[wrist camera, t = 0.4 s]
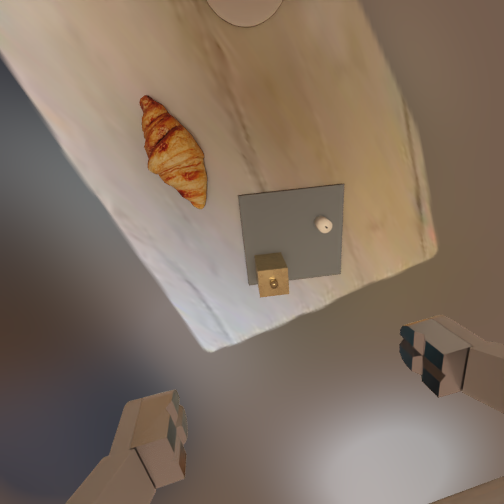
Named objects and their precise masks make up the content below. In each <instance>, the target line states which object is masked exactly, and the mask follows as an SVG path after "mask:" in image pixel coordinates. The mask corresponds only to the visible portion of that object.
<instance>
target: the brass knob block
mask: <svg viewBox="0 0 504 504" xmlns="http://www.w3.org/2000/svg"><path fill="white" fill-rule="evenodd" d="M254 256H255V266H256V276H257V282H258V288H259V293H260V297H267V296H275V295H283V294H289V281H288V267H287V265H286V263H285V260H284V258H283V256H282V254H281V252H278V253H270V254H261V255H254Z"/></svg>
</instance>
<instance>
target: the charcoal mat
mask: <svg viewBox="0 0 504 504" xmlns="http://www.w3.org/2000/svg"><path fill="white" fill-rule="evenodd" d="M238 197H239V205H240V214H241V222H242V231H243V239H244V247H245V256H246V264H247V273H248V281H249V285H255V284H258V282H257V276H256V266H255V256H254V255H261V254H270V253H278V252H281V254H282V256H283V258H284V260H285V263H286V265H287V267H288V280H296V279H304V278H313V277H321V276H329V275H337V274H341V252H342V228H343V204H344V184H337V185H328V186H319V187H310V188H301V189H292V190H283V191H275V192H266V193H257V194H248V195H239V196H238ZM318 216H324V217H325V218H327V219H328V220H329V221H330V222H331V223H332V229H331V231H329V232H328V233H322V232H320V231H319V230H318V229H317V228H316V227H315V225H314V220H315V218H316V217H318Z"/></svg>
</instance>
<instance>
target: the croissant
mask: <svg viewBox="0 0 504 504" xmlns="http://www.w3.org/2000/svg"><path fill="white" fill-rule="evenodd" d="M140 106H141V108H142V110H143V113H144V114H143V117H142V131H143V132H144V138H145V139H146V141H145V146H144V148H145V150H146V153H147V155H148V158H149V160H148V169H149V170H150V171H151V172H153V173H155V174H159V176H160V177H161V179H162V180H163V181H164V182H165V183H166V184H168V185H171V186H172V187H174V188H175V189H176V190H177V191H178V192H179V193H180V195H181V196H182V197H184V198H185V199H187V200H189V201H191V203H192V205H193V206H194V207H196V208H198V209H202V208H204V206H205V202H206V190H207V186H206V185H207V184H206V183H207V174H206V171H205V167H204V163H203V158H204V154H203V152H202V151H201V149H200V147H199V146H198V144H197V143H196V141H195V140H194V138H193V137H192V135H191V134H190V133H189V132H188V131H187V130H186V129H185V128H184V127H183V126H182V125H181V124H180V123H179V122H178V121H177V120H176V119H175V118H174V117H173V116H171V115H170V114H169V113H168V112H167V111H166V109H165V107H164V106H163V105H161V104H160V103H158V102H156V101H154V100H153V99H152V98H150V97H149V96H148V95H145V96H143V97H142V98H141V99H140Z"/></svg>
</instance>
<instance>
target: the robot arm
mask: <svg viewBox="0 0 504 504" xmlns="http://www.w3.org/2000/svg"><path fill="white" fill-rule="evenodd" d="M206 1H207V2H208V4H209V5H210V7H211V8H212V9H213V10H214V11H215V13H216V14H217V15H219V16H220V17H221V18H222V19H224V20H225V21H227V22H229V23H231V24H233V25H236V26H242V27H250V26H255V25H258V24H260V23H262V22H264V21H266V20H267V19H268V18H270V17H271V16H272V15H273V14H274V13H275V12H276V10H277V9H278V8H279V6H280V4H281V3H282V1H283V0H206ZM400 335H401V336H402V337H403V340H402V341H401V343H400V344H399V352H400V355H401V358H402V360H403V361H404V363H405V364H406V366H407V367H408V368H409V369H410V370H411V371H413V372H415V373H417V374H420V375H421V379H422V382H423V383H424V384H425V385H426V386H427V387H428V388H429V389H430V390H431V391H432V392H433V393H434V394H435V395H436V396H437V397H438V398H439V397H442V396H446V395H450V394H453V393H457V392H460V391H462V393H464V394H466V395H468V396H470V397H472V398H474V399H476V400H478V401H480V402H482V403H484V404H486V405H488V406H490V407H492V408H494V409H496V410H498V411H500V412H501V413H503V414H504V344H500V343H497V342H493V341H492V342H487V341H485V340H483V339H482V338H480V337H479V336H477V335H476V334H474V333H472V332H470V331H469V330H467V329H466V328H464V327H463V326H461V325H459V324H458V323H456V322H455V321H453V320H452V319H450V318H449V317H447V316H445V315H437V316H433V317H430V318H428V319H423V320H420V321H416V322H413V323H409V324H406V325H403V326H402V327H401V329H400ZM179 398H180V397H179V395H178V392H177V390H171V391H167V392H163V393H159V394H155V395H151V396H147V397H144V398H141V399H137V400H133V401H129V402H127V404H126V405H125V407H124V410H123V413H122V416H121V419H120V422H119V426H118V429H117V432H116V435H115V438H114V441H113V444H112V448H111V450H110V454H109V456H107V457H104V458H103V459H102V460H101V461H100V462H99V464H98V465H97V466H96V467H95V468H94V470H93V471H92V472H91V473H90V475H89V476H88V477H87V478H86V479H85V481H84V482H83V483H82V484H81V485H80V487H79V488H78V489H77V490H76V492H75V493H74V494H73V495H72V496H71V498H70V499H69V500H68V501H67V502H66V504H150V502H151V500H152V498H153V496H154V494H155V492H156V490H155V489H157V488H159V487H162V486H165V485H168V484H171V483H174V482H176V481H179V480H182V479H185V469H186V452H185V449H184V447H183V445H184V443H185V442H186V440H187V431H188V429H187V418H186V414H185V410H184V408H183V406H180V405H179ZM429 504H504V476H503V477H500V478H497V479H494V480H492V481H489V482H487V483H484V484H481V485H478V486H475V487H473V488H470V489H467V490H465V491H462V492H459V493H456V494H454V495H451V496H448V497H446V498H443V499H440V500H437V501H435V502H432V503H429Z"/></svg>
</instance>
